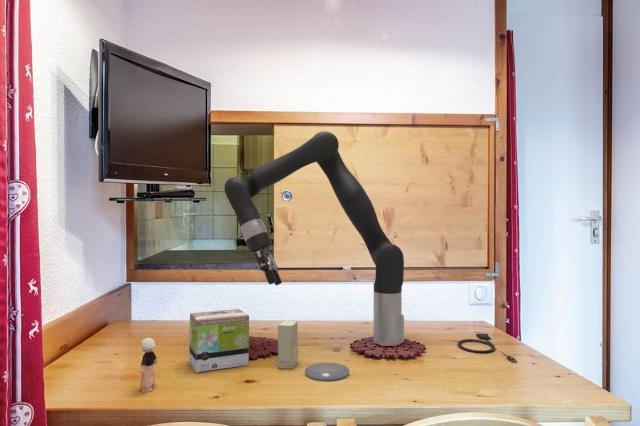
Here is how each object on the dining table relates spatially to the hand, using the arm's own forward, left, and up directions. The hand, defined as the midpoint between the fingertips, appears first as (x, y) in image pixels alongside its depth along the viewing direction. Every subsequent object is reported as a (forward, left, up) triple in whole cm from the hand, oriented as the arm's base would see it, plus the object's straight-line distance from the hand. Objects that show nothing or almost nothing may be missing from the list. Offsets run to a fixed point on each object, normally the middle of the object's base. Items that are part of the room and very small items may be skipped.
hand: (275, 283), depth 141 cm
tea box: (+17, +4, -22) cm, 28 cm away
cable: (-64, +11, -23) cm, 69 cm away
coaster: (-11, +19, -22) cm, 31 cm away
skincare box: (-2, +10, -22) cm, 24 cm away
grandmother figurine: (+35, +18, -22) cm, 45 cm away
